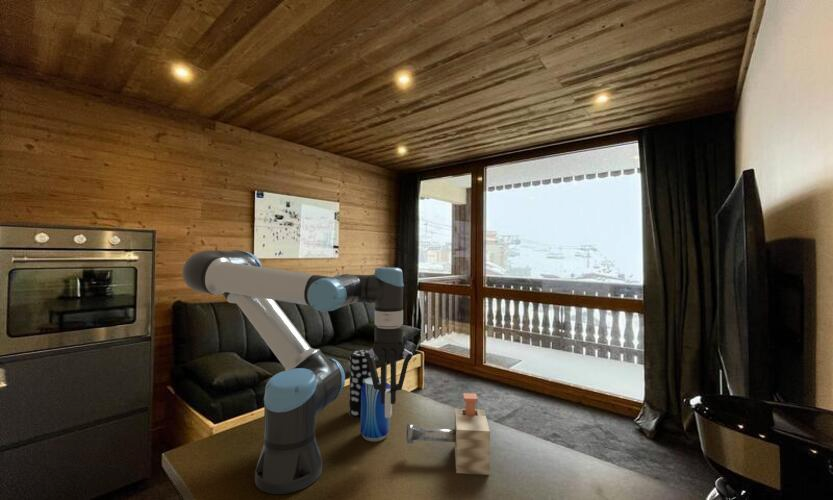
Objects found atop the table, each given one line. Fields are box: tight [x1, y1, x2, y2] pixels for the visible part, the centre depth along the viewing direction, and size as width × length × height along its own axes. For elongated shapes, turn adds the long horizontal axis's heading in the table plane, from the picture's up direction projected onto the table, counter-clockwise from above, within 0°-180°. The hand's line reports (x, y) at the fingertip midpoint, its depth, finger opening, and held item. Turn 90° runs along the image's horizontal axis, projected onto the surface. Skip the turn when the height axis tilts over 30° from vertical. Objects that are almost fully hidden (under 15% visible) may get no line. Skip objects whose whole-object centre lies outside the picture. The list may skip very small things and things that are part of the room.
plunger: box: [462, 392, 479, 416], centre depth 97 cm, size 4×4×8 cm
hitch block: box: [453, 408, 491, 476], centre depth 93 cm, size 8×12×10 cm, turn 176°
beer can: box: [359, 376, 391, 442], centre depth 105 cm, size 8×8×16 cm
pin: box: [406, 423, 456, 445], centre depth 94 cm, size 16×5×5 cm, turn 86°
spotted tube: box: [348, 349, 376, 420], centre depth 119 cm, size 8×8×20 cm
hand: (388, 415), depth 94 cm, fingers closed
